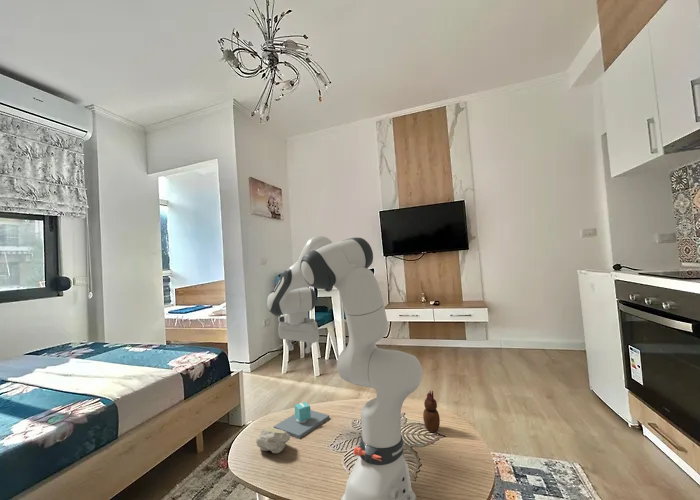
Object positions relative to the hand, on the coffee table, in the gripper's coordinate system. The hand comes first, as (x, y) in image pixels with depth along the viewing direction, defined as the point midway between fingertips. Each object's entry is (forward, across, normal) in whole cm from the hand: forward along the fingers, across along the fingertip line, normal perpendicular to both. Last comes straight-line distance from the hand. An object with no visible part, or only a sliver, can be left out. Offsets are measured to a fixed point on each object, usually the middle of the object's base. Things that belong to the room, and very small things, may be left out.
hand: (299, 351), depth 131 cm
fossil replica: (+29, -4, +19) cm, 35 cm away
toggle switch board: (+29, 0, 0) cm, 29 cm away
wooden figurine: (+29, -47, -21) cm, 59 cm away
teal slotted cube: (+27, 0, 0) cm, 27 cm away
